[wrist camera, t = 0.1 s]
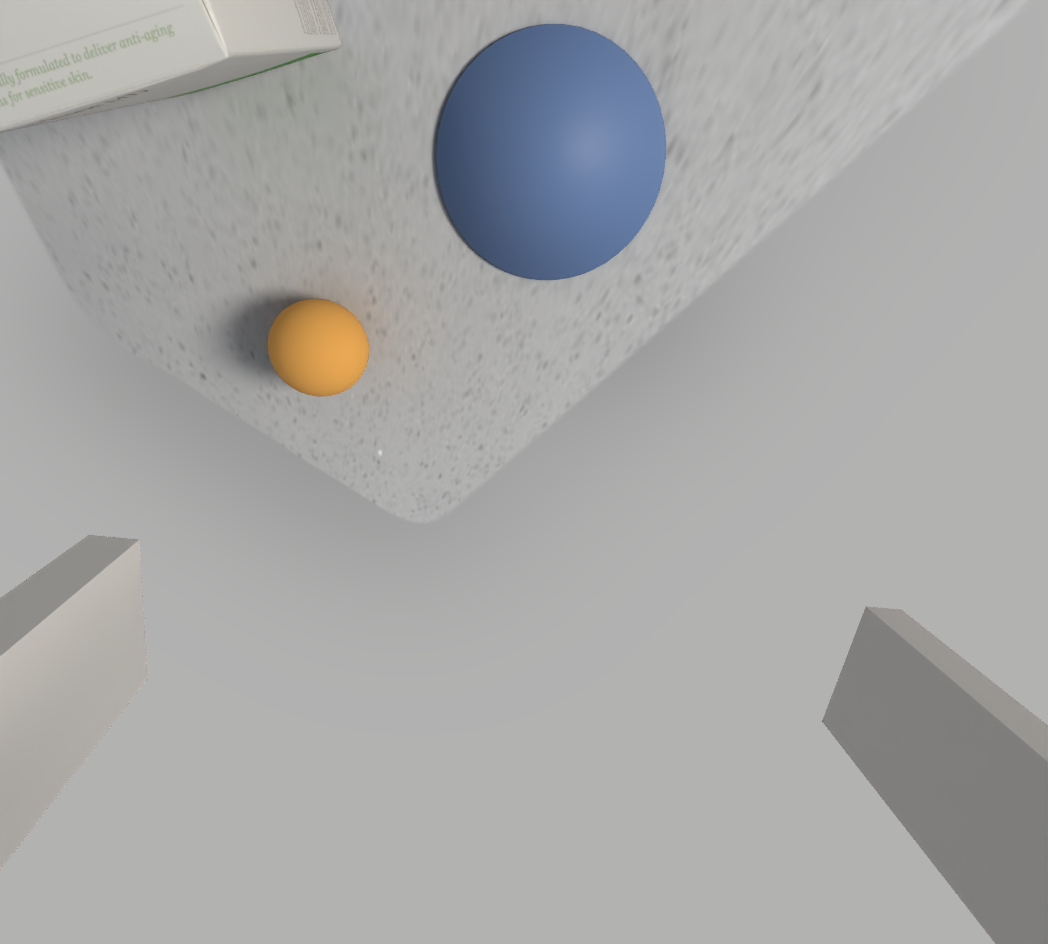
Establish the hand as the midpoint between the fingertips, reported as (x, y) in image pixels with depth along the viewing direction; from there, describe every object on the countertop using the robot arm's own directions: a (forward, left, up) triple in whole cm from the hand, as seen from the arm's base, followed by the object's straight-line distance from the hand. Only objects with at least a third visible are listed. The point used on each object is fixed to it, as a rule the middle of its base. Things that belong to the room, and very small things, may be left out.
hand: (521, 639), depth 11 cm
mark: (-4, -1, -28) cm, 28 cm away
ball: (+12, -1, -25) cm, 28 cm away
